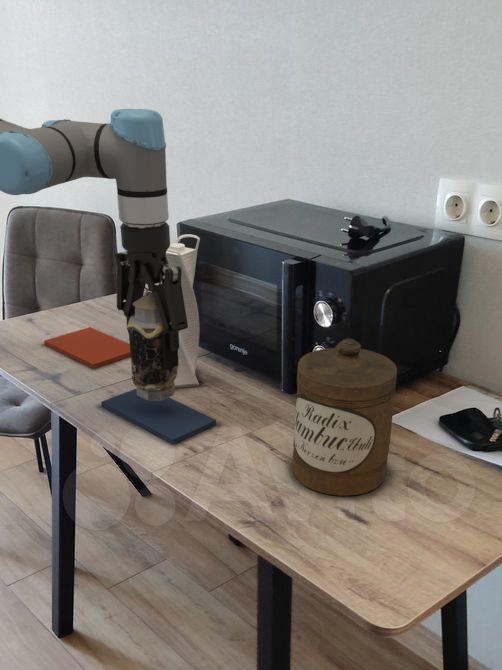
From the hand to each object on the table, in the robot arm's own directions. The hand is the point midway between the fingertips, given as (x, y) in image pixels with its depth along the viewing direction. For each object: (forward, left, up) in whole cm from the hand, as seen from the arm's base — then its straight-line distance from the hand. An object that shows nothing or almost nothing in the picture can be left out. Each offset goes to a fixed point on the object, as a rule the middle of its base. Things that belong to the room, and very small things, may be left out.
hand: (154, 359), depth 121 cm
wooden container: (+35, +8, -11) cm, 38 cm away
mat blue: (0, 0, -11) cm, 11 cm away
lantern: (0, 0, -6) cm, 6 cm away
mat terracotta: (-34, +10, -11) cm, 37 cm away
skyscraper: (-8, +13, -11) cm, 19 cm away
